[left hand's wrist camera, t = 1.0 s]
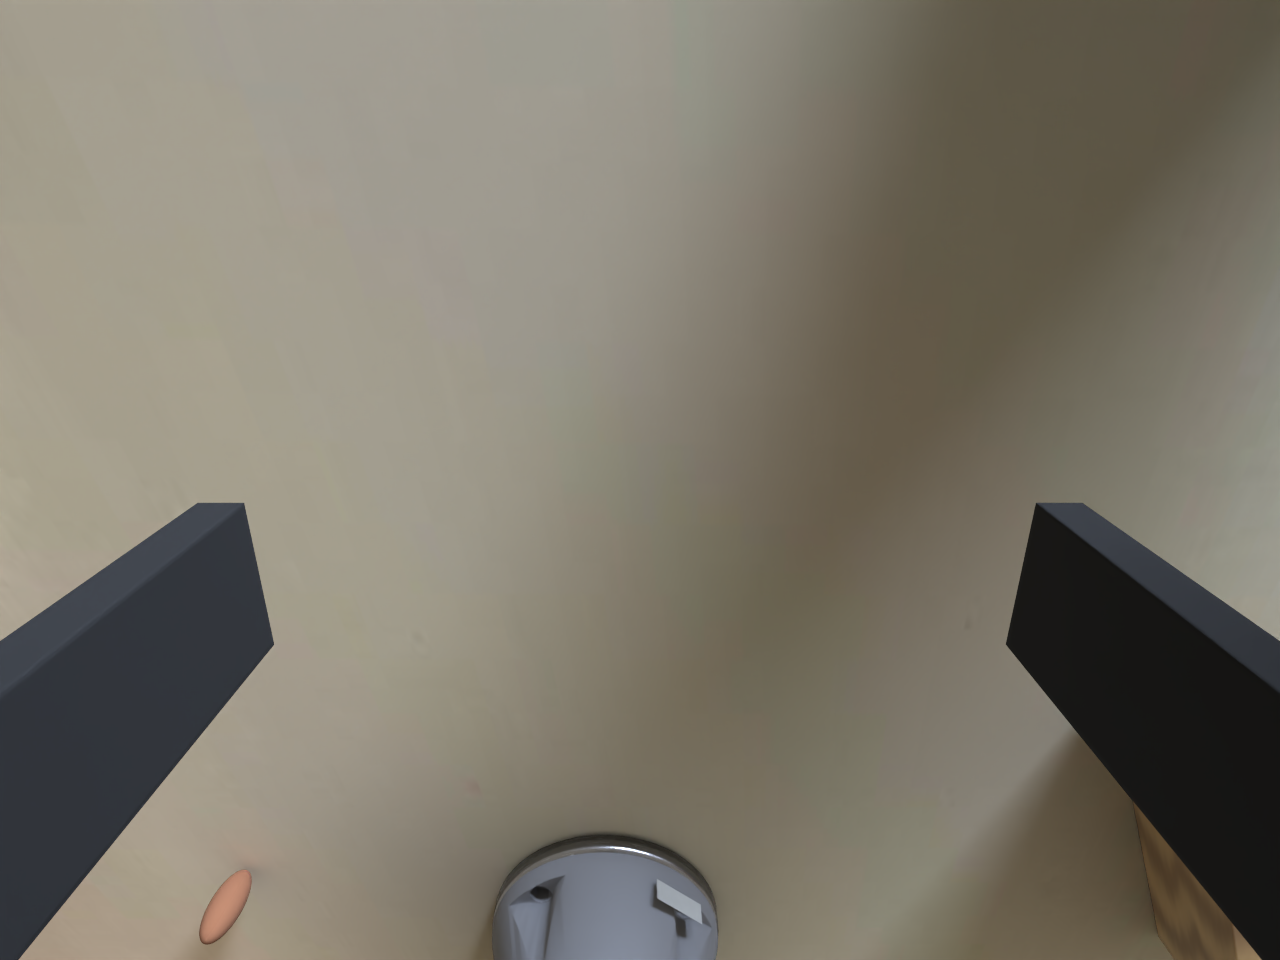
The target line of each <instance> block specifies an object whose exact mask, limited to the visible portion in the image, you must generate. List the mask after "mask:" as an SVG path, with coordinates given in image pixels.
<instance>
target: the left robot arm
mask: <svg viewBox="0 0 1280 960" xmlns="http://www.w3.org/2000/svg"><path fill="white" fill-rule="evenodd" d="M273 645H274V642H273V637H272V632H271V628H270V623H269V618H268V614H267V609H266V604H265V599H264V595H263V590H262V585H261V581H260V576H259V571H258V567H257V562H256V557H255V552H254V548H253V543H252V538H251V534H250V529H249V524H248V520H247V515H246V510H245V506H244V503H197V504H196V505H194V506H193V507H191V508H190V509H188V510H187V511H186V512H184V513H183V514H181V515H180V516H178V517H177V518H176V519H174V520H173V521H171V522H170V523H168V524H167V525H166V526H164V527H163V528H161V529H160V530H158V531H157V532H156V533H154V534H153V535H151V536H150V537H148V538H147V539H146V540H144V541H143V542H141V543H140V544H138V545H137V546H136V547H134V548H133V549H131V550H130V551H128V552H127V553H126V554H124V555H123V556H121V557H120V558H118V559H117V560H116V561H114V562H113V563H111V564H110V565H108V566H107V567H106V568H104V569H103V570H101V571H100V572H98V573H97V574H96V575H94V576H93V577H91V578H90V579H88V580H87V581H86V582H84V583H83V584H81V585H80V586H78V587H77V588H76V589H74V590H73V591H71V592H70V593H68V594H67V595H66V596H64V597H63V598H61V599H60V600H58V601H57V602H56V603H54V604H53V605H51V606H50V607H48V608H47V609H46V610H44V611H43V612H41V613H40V614H38V615H37V616H36V617H34V618H33V619H31V620H30V621H28V622H27V623H26V624H24V625H23V626H21V627H20V628H18V629H17V630H16V631H14V632H13V633H11V634H10V635H8V636H7V637H6V638H4V639H3V640H1V641H0V960H18V959H19V958H20V957H21V956H22V955H23V953H24V952H25V951H26V950H27V948H28V947H29V946H30V945H31V943H32V942H33V941H34V940H35V939H36V937H37V936H38V935H39V934H40V932H41V931H42V930H43V929H44V927H45V926H46V925H47V924H48V922H49V921H50V920H51V919H52V918H53V916H54V915H55V914H56V913H57V911H58V910H59V909H60V908H61V906H62V905H63V904H64V903H65V902H66V900H67V899H68V898H69V897H70V895H71V894H72V893H73V892H74V890H75V889H76V888H77V887H78V886H79V884H80V883H81V882H82V881H83V879H84V878H85V877H86V876H87V874H88V873H89V872H90V871H91V869H92V868H93V867H94V866H95V865H96V863H97V862H98V861H99V860H100V858H101V857H102V856H103V855H104V853H105V852H106V851H107V850H108V849H109V847H110V846H111V845H112V844H113V842H114V841H115V840H116V839H117V837H118V836H119V835H120V834H121V833H122V831H123V830H124V829H125V828H126V826H127V825H128V824H129V823H130V821H131V820H132V819H133V818H134V816H135V815H136V814H137V813H138V812H139V810H140V809H141V808H142V807H143V805H144V804H145V803H146V802H147V800H148V799H149V798H150V797H151V796H152V794H153V793H154V792H155V791H156V789H157V788H158V787H159V786H160V784H161V783H162V782H163V781H164V780H165V778H166V777H167V776H168V775H169V773H170V772H171V771H172V770H173V768H174V767H175V766H176V765H177V763H178V762H179V761H180V760H181V759H182V757H183V756H184V755H185V754H186V752H187V751H188V750H189V749H190V747H191V746H192V745H193V744H194V743H195V741H196V740H197V739H198V738H199V736H200V735H201V734H202V733H203V731H204V730H205V729H206V728H207V727H208V725H209V724H210V723H211V722H212V720H213V719H214V718H215V717H216V715H217V714H218V713H219V712H220V710H221V709H222V708H223V707H224V706H225V704H226V703H227V702H228V701H229V699H230V698H231V697H232V696H233V694H234V693H235V692H236V691H237V690H238V688H239V687H240V686H241V685H242V683H243V682H244V681H245V680H246V678H247V677H248V676H249V675H250V673H251V672H252V671H253V670H254V669H255V667H256V666H257V665H258V664H259V662H260V661H261V660H262V659H263V657H264V656H265V655H266V654H267V653H268V651H269V650H270V649H271V648H272V646H273ZM1006 645H1007V646H1008V648H1009V649H1010V650H1011V651H1012V653H1013V654H1014V655H1015V656H1016V657H1017V659H1018V660H1019V661H1020V662H1021V664H1022V665H1023V666H1024V667H1025V669H1026V670H1027V671H1028V672H1029V673H1030V675H1031V676H1032V677H1033V678H1034V680H1035V681H1036V682H1037V683H1038V685H1039V686H1040V687H1041V688H1042V690H1043V691H1044V692H1045V693H1046V694H1047V696H1048V697H1049V698H1050V699H1051V701H1052V702H1053V703H1054V704H1055V706H1056V707H1057V708H1058V709H1059V710H1060V712H1061V713H1062V714H1063V715H1064V717H1065V718H1066V719H1067V720H1068V722H1069V723H1070V724H1071V725H1072V727H1073V728H1074V729H1075V730H1076V731H1077V733H1078V734H1079V735H1080V736H1081V738H1082V739H1083V740H1084V741H1085V743H1086V744H1087V745H1088V746H1089V747H1090V749H1091V750H1092V751H1093V752H1094V754H1095V755H1096V756H1097V757H1098V759H1099V760H1100V761H1101V762H1102V763H1103V765H1104V766H1105V767H1106V768H1107V770H1108V771H1109V772H1110V773H1111V775H1112V776H1113V777H1114V778H1115V780H1116V781H1117V782H1118V783H1119V784H1120V786H1121V787H1122V788H1123V789H1124V791H1125V792H1126V793H1127V794H1128V796H1129V797H1130V798H1131V799H1132V800H1133V802H1134V803H1135V804H1136V805H1137V807H1138V808H1139V809H1140V810H1141V812H1142V813H1143V814H1144V815H1145V816H1146V818H1147V819H1148V820H1149V821H1150V823H1151V824H1152V825H1153V826H1154V828H1155V829H1156V830H1157V831H1158V833H1159V834H1160V835H1161V836H1162V837H1163V839H1164V840H1165V841H1166V842H1167V844H1168V845H1169V846H1170V847H1171V849H1172V850H1173V851H1174V852H1175V853H1176V855H1177V856H1178V857H1179V858H1180V860H1181V861H1182V862H1183V863H1184V865H1185V866H1186V867H1187V868H1188V869H1189V871H1190V872H1191V873H1192V874H1193V876H1194V877H1195V878H1196V879H1197V881H1198V882H1199V883H1200V884H1201V886H1202V887H1203V888H1204V889H1205V890H1206V892H1207V893H1208V894H1209V895H1210V897H1211V898H1212V899H1213V900H1214V902H1215V903H1216V904H1217V905H1218V906H1219V908H1220V909H1221V910H1222V911H1223V913H1224V914H1225V915H1226V916H1227V918H1228V919H1229V920H1230V921H1231V922H1232V924H1233V925H1234V926H1235V927H1236V929H1237V930H1238V931H1239V932H1240V934H1241V935H1242V936H1243V937H1244V939H1245V940H1246V941H1247V942H1248V943H1249V945H1250V946H1251V947H1252V948H1253V950H1254V951H1255V952H1256V953H1257V955H1258V956H1259V957H1260V958H1261V959H1262V960H1280V641H1279V640H1277V639H1276V638H1274V637H1273V636H1272V635H1270V634H1269V633H1267V632H1266V631H1264V630H1263V629H1262V628H1260V627H1259V626H1257V625H1256V624H1254V623H1253V622H1252V621H1250V620H1249V619H1247V618H1246V617H1244V616H1243V615H1242V614H1240V613H1239V612H1237V611H1236V610H1234V609H1233V608H1232V607H1230V606H1229V605H1227V604H1226V603H1224V602H1223V601H1222V600H1220V599H1219V598H1217V597H1216V596H1214V595H1213V594H1212V593H1210V592H1209V591H1207V590H1206V589H1204V588H1203V587H1202V586H1200V585H1199V584H1197V583H1196V582H1194V581H1193V580H1192V579H1190V578H1189V577H1187V576H1186V575H1184V574H1183V573H1182V572H1180V571H1179V570H1177V569H1176V568H1174V567H1173V566H1172V565H1170V564H1169V563H1167V562H1166V561H1164V560H1163V559H1162V558H1160V557H1159V556H1157V555H1156V554H1154V553H1153V552H1152V551H1150V550H1149V549H1147V548H1146V547H1144V546H1143V545H1142V544H1140V543H1139V542H1137V541H1136V540H1134V539H1133V538H1132V537H1130V536H1129V535H1127V534H1126V533H1124V532H1123V531H1122V530H1120V529H1119V528H1117V527H1116V526H1114V525H1113V524H1112V523H1110V522H1109V521H1107V520H1106V519H1104V518H1103V517H1102V516H1100V515H1099V514H1097V513H1096V512H1094V511H1093V510H1092V509H1090V508H1089V507H1087V506H1086V505H1084V504H1083V503H1036V506H1035V510H1034V515H1033V520H1032V524H1031V529H1030V534H1029V538H1028V543H1027V548H1026V552H1025V557H1024V562H1023V567H1022V571H1021V576H1020V581H1019V585H1018V590H1017V595H1016V599H1015V604H1014V609H1013V614H1012V618H1011V623H1010V628H1009V632H1008V637H1007V642H1006ZM717 947H718V921H717V911H716V904H715V899H714V896H713V894H712V891H711V889H710V887H709V885H708V884H707V882H706V881H705V879H704V878H703V876H702V875H701V874H700V873H699V872H698V871H697V870H696V869H695V868H694V867H693V866H692V865H691V864H690V863H689V862H687V861H686V860H685V859H683V858H682V857H680V856H679V855H677V854H675V853H674V852H672V851H670V850H668V849H666V848H664V847H661V846H659V845H656V844H654V843H650V842H647V841H644V840H640V839H635V838H630V837H624V836H613V835H595V836H584V837H577V838H572V839H568V840H564V841H560V842H557V843H554V844H552V845H549V846H547V847H544V848H542V849H540V850H538V851H536V852H535V853H533V854H532V855H530V856H528V857H527V858H526V859H524V860H523V861H522V862H520V863H519V864H518V865H517V866H516V867H515V868H514V869H513V870H512V872H511V873H510V874H509V875H508V877H507V878H506V880H505V881H504V883H503V885H502V887H501V889H500V892H499V895H498V898H497V903H496V908H495V913H494V918H493V929H492V948H493V956H494V960H715V959H716V955H717Z"/></svg>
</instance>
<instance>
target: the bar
mask: <svg viewBox="0 0 1280 960" xmlns="http://www.w3.org/2000/svg"><path fill="white" fill-rule="evenodd" d="M1133 805H1134V810H1135V815H1136V821H1137V826H1138V831H1139V836H1140V842H1141V847H1142V852H1143V857H1144V863H1145V868H1146V873H1147V879H1148V884H1149V889H1150V894H1151V900H1152V905H1153V910H1154V916H1155V921H1156V926H1157V931H1158V936H1159V938H1160V939H1161V941H1162V942H1163V944H1164V945H1165V947H1166V948H1167V950H1168V951H1169V952H1170V954H1171V955H1172V957H1173V958H1174V960H1262V959H1261V958H1260V957H1259V956H1258V955H1257V953H1256V952H1255V951H1254V950H1253V948H1252V947H1251V946H1250V945H1249V943H1248V942H1247V941H1246V940H1245V939H1244V937H1243V936H1242V935H1241V934H1240V932H1239V931H1238V930H1237V929H1236V927H1235V926H1234V925H1233V924H1232V922H1231V921H1230V920H1229V919H1228V918H1227V916H1226V915H1225V914H1224V913H1223V911H1222V910H1221V909H1220V908H1219V906H1218V905H1217V904H1216V903H1215V902H1214V900H1213V899H1212V898H1211V897H1210V895H1209V894H1208V893H1207V892H1206V890H1205V889H1204V888H1203V887H1202V886H1201V884H1200V883H1199V882H1198V881H1197V879H1196V878H1195V877H1194V876H1193V874H1192V873H1191V872H1190V871H1189V869H1188V868H1187V867H1186V866H1185V865H1184V863H1183V862H1182V861H1181V860H1180V858H1179V857H1178V856H1177V855H1176V853H1175V852H1174V851H1173V850H1172V849H1171V847H1170V846H1169V845H1168V844H1167V842H1166V841H1165V840H1164V839H1163V837H1162V836H1161V835H1160V834H1159V833H1158V831H1157V830H1156V829H1155V828H1154V826H1153V825H1152V824H1151V823H1150V821H1149V820H1148V819H1147V818H1146V816H1145V815H1144V814H1143V813H1142V812H1141V810H1140V809H1139V808H1138V807H1137V805H1136V804H1135V803H1134V802H1133Z"/></svg>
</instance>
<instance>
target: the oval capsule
mask: <svg viewBox="0 0 1280 960" xmlns="http://www.w3.org/2000/svg"><path fill="white" fill-rule="evenodd" d="M251 882H252V879H251V874H250V872H249V871H247V870H240V871H238V872H236V873H234V874H233V875H232V876H230V877H229V878H228V879H227V880H226V881H225V882H224V883H223V884H222V885H221V887H220V888H219V889H218V890H217V892H216V893H215V895H214V896H213V898H212V899H211V901H210V903H209V905H208V907H207V909H206V911H205V913H204V916H203V918H202V921H201V925H200V931H199V936H200V940H201V942H202V943H203V944H211V943H214V942H215V941H217V940H218V939H220V938H221V937H222V936H223V935H224V934H225V933H226V932H227V931H228V930H229V929H230V928H231V926H232V925H233V924H234V922H235V921H236V919H237V918H238V916H239V915H240V913H241V911H242V909H243V908H244V906H245V903H246V901H247V899H248V896H249V893H250V889H251Z"/></svg>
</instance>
